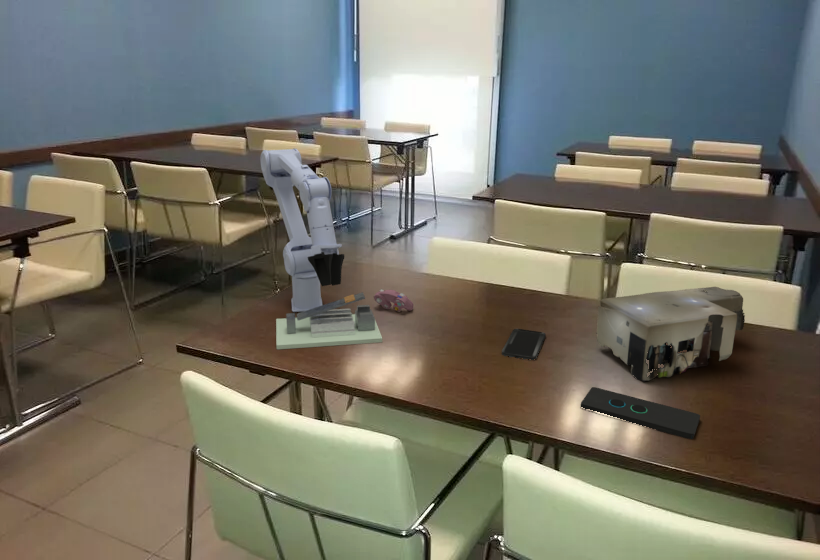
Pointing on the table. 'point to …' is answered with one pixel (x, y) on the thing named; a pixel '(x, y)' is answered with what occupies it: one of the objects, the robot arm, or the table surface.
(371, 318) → the hinge and catch
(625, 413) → the smart home device
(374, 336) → the pale green board
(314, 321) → the heat sink
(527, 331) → the phone
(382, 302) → the pink plastic car shape
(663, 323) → the grey boxy piece
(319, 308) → the bar
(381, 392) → the table surface
